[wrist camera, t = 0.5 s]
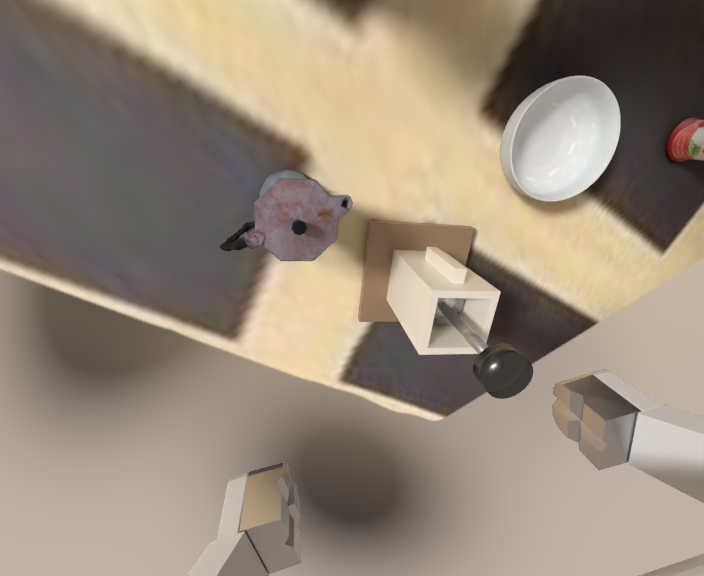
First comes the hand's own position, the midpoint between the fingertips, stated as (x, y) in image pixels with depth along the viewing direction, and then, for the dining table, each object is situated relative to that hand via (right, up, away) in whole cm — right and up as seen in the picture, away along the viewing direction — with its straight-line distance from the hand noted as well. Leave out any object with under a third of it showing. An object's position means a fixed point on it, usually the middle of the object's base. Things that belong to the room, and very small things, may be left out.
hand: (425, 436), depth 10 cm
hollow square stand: (+9, +7, +50) cm, 51 cm away
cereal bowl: (+27, +28, +45) cm, 59 cm away
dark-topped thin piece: (+11, +2, +38) cm, 40 cm away
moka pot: (-12, +18, +42) cm, 47 cm away
